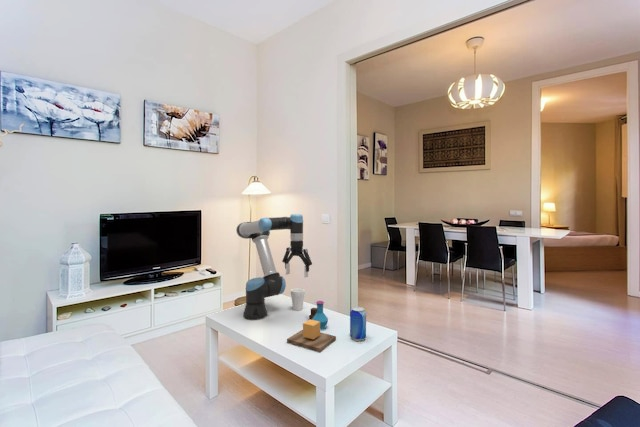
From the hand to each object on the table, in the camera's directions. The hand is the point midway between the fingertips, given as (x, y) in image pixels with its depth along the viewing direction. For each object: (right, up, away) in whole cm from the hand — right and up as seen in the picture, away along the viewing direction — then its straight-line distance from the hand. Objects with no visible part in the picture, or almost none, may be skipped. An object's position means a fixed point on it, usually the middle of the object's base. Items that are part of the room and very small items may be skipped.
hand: (296, 275), depth 185 cm
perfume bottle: (+14, -29, -5) cm, 33 cm away
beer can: (+34, -30, -20) cm, 49 cm away
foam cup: (-1, -28, +25) cm, 38 cm away
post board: (+9, -30, -24) cm, 39 cm away
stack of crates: (+12, -29, +8) cm, 32 cm away
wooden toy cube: (+9, -27, -24) cm, 37 cm away
